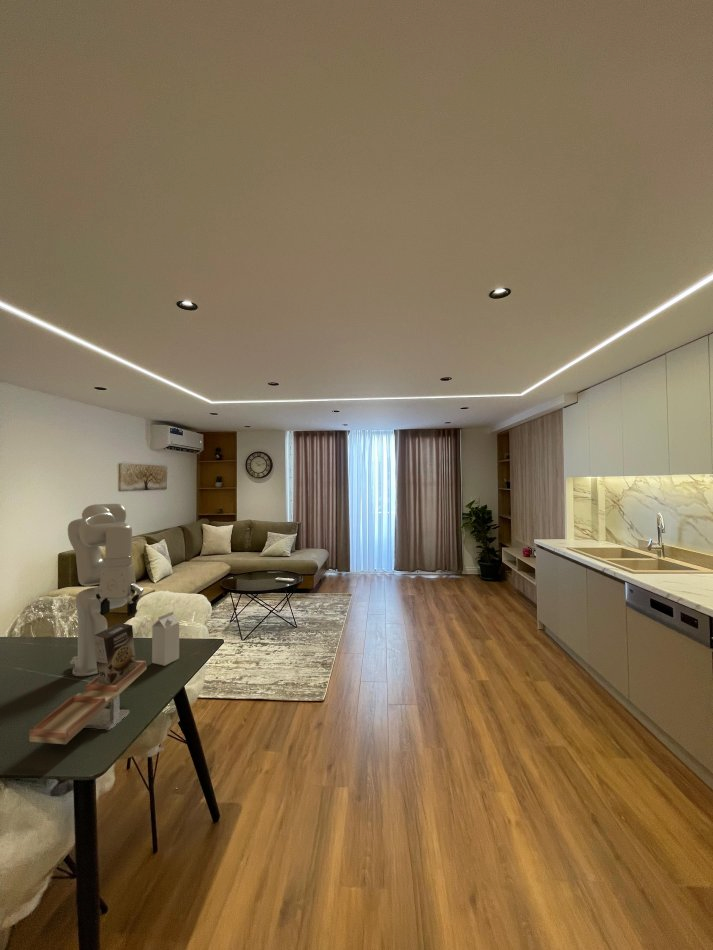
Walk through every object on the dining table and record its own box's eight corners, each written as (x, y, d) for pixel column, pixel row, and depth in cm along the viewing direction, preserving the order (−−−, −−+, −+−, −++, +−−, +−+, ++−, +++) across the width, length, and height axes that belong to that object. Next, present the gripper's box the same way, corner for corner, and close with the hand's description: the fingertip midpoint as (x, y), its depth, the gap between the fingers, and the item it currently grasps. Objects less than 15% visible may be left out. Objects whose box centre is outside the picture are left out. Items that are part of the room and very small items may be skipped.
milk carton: (151, 663, 152) (152, 616, 152) (166, 655, 158) (167, 610, 159) (164, 666, 149) (165, 618, 149) (179, 658, 155) (179, 612, 156)
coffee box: (111, 686, 118) (106, 638, 117) (97, 682, 121) (92, 635, 119) (137, 669, 127) (133, 624, 125) (124, 666, 129) (119, 621, 127)
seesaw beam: (29, 744, 100) (27, 731, 99) (118, 669, 131) (117, 659, 131) (66, 747, 98) (65, 733, 98) (147, 671, 130) (146, 660, 129)
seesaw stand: (60, 726, 111) (60, 702, 112) (83, 711, 119) (83, 688, 120) (109, 730, 110) (109, 705, 110) (129, 713, 117) (129, 690, 118)
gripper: (85, 564, 122) (85, 617, 121) (134, 565, 120) (134, 619, 120) (103, 559, 129) (103, 609, 129) (150, 560, 128) (149, 611, 127)
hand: (118, 614), depth 124 cm, fingers open, 9 cm apart
